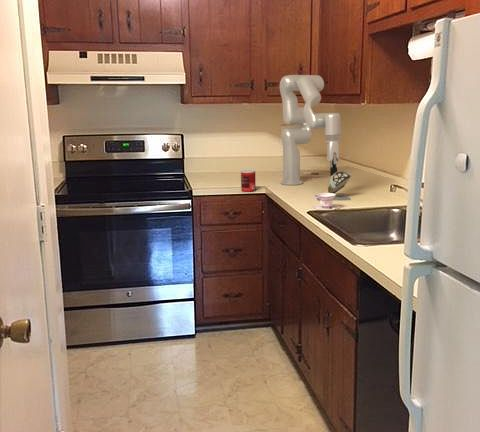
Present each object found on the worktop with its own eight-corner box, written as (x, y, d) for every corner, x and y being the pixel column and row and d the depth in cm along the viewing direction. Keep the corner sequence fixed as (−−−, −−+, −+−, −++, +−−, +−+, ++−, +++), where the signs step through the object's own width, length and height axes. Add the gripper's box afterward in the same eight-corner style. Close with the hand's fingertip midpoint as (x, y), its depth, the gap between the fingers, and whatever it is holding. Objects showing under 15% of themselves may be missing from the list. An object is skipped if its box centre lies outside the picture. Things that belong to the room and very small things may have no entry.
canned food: (255, 189, 292) (254, 169, 290) (256, 192, 285) (255, 171, 282) (241, 189, 292) (240, 169, 290) (241, 192, 284) (241, 171, 282)
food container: (337, 177, 274) (343, 166, 266) (345, 185, 272) (352, 174, 264) (320, 189, 269) (326, 177, 260) (329, 197, 267) (335, 186, 259)
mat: (315, 195, 271) (315, 195, 271) (347, 195, 270) (347, 194, 270) (317, 200, 260) (317, 199, 259) (351, 200, 259) (351, 199, 259)
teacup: (337, 205, 249) (337, 191, 248) (341, 210, 238) (342, 196, 236) (311, 205, 249) (311, 192, 248) (314, 211, 238) (314, 197, 236)
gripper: (323, 138, 274) (324, 174, 277) (327, 139, 259) (328, 177, 263) (338, 137, 274) (339, 173, 277) (343, 138, 259) (343, 176, 262)
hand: (333, 175), depth 270 cm, fingers closed
